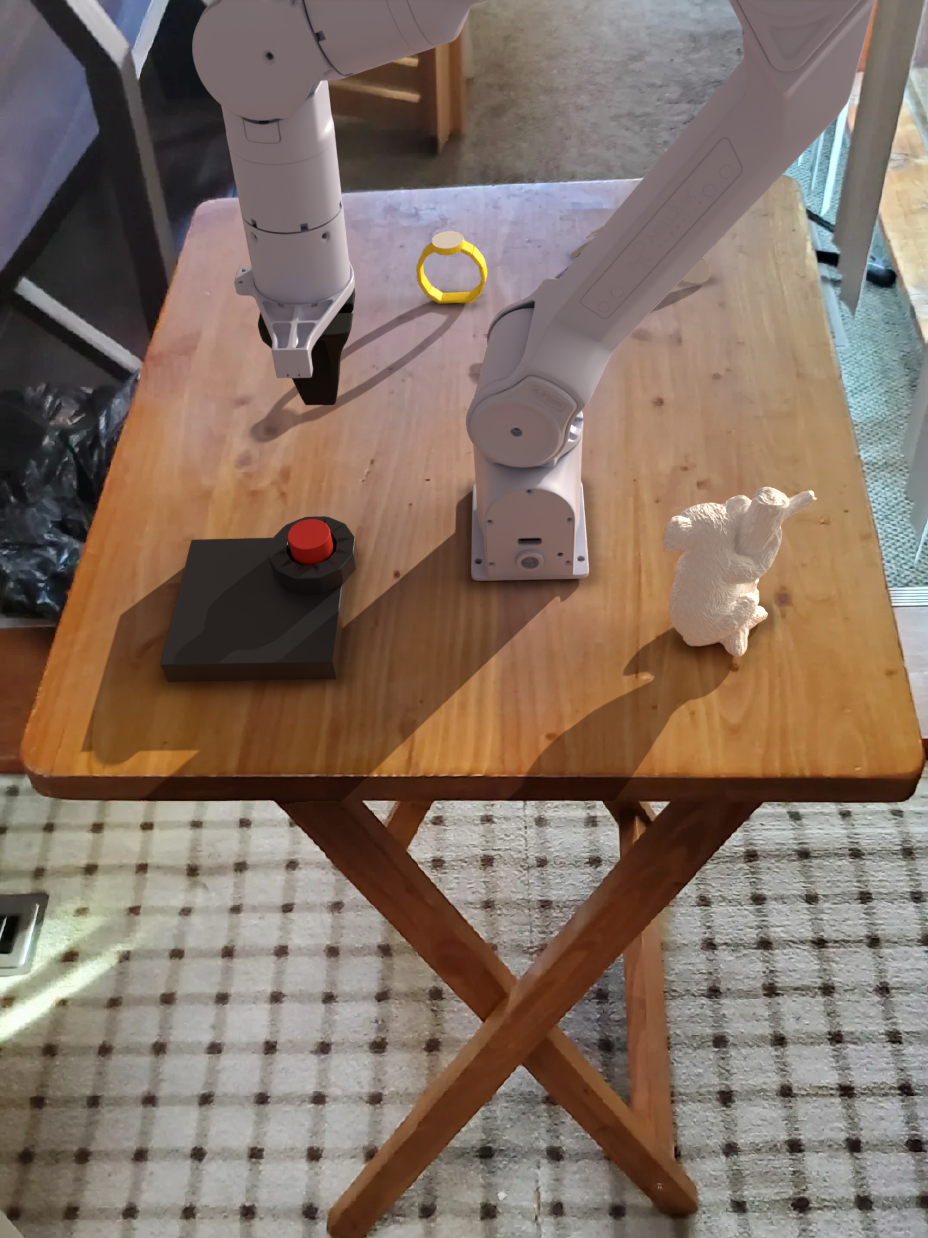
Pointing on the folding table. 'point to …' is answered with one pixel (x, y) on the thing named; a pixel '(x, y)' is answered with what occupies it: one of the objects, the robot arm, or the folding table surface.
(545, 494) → the robot arm
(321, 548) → the button
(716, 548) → the koala figurine
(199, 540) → the black red button box
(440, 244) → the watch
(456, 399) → the folding table surface
